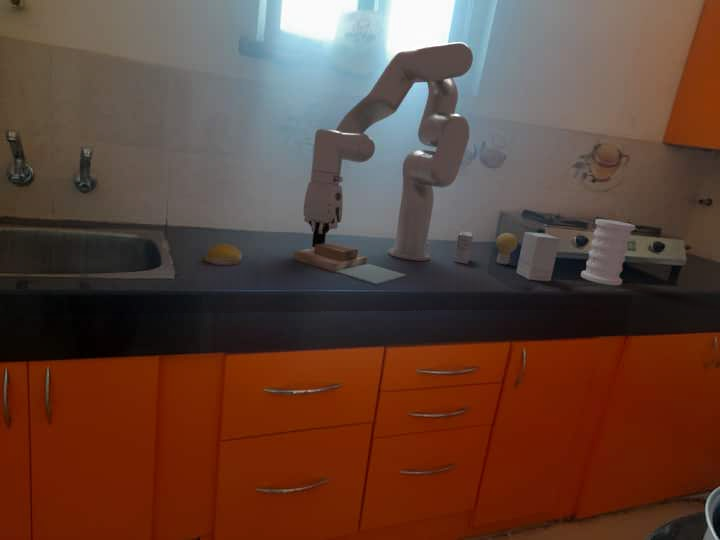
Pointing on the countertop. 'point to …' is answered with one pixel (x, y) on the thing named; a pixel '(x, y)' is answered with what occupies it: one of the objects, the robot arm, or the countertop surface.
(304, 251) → the ash deck
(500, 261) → the light bulb
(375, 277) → the teal mat
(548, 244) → the supplement box
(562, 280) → the countertop surface
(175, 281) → the countertop surface
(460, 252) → the medicine box
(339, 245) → the walnut tile
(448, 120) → the robot arm
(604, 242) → the decorative container
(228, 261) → the bread roll
